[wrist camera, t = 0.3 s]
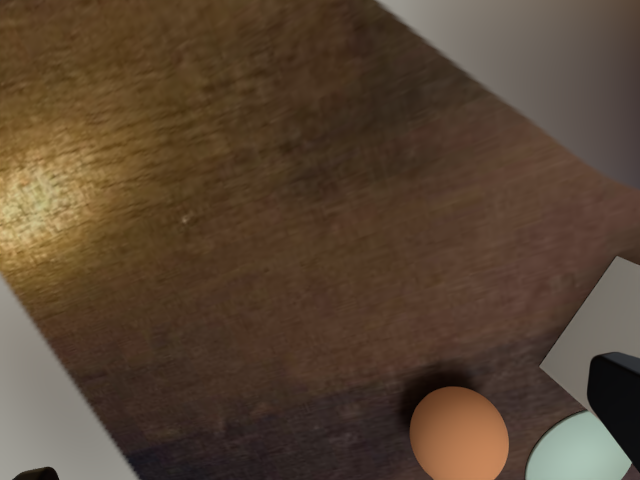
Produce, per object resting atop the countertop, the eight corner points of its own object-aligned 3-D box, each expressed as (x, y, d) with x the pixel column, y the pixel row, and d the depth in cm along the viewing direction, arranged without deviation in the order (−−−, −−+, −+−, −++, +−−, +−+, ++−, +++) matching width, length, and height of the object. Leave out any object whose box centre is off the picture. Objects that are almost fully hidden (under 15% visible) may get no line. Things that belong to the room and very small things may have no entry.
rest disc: (620, 497, 31) (622, 499, 31) (516, 515, 30) (518, 517, 30) (646, 402, 29) (648, 404, 29) (535, 416, 28) (537, 418, 27)
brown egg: (472, 435, 27) (521, 505, 23) (394, 445, 26) (428, 521, 22) (482, 364, 26) (537, 424, 21) (399, 372, 25) (437, 436, 20)
